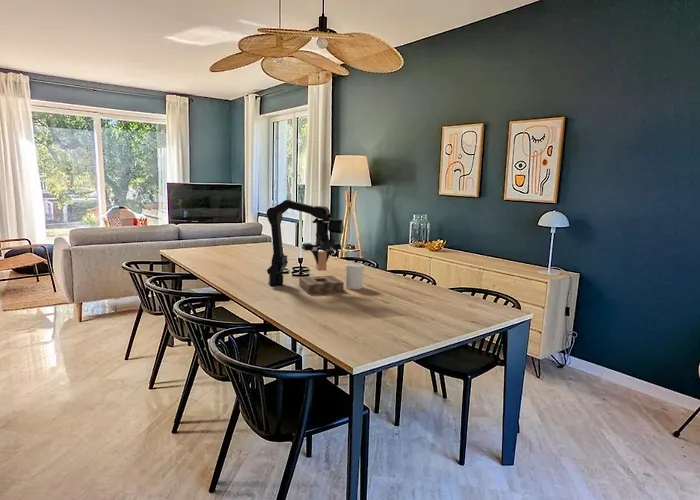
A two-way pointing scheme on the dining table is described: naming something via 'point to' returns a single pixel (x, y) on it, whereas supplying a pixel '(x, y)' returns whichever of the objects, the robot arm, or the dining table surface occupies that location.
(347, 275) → the candle holder
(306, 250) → the robot arm
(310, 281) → the socket block
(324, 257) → the peg
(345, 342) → the dining table surface
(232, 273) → the dining table surface
